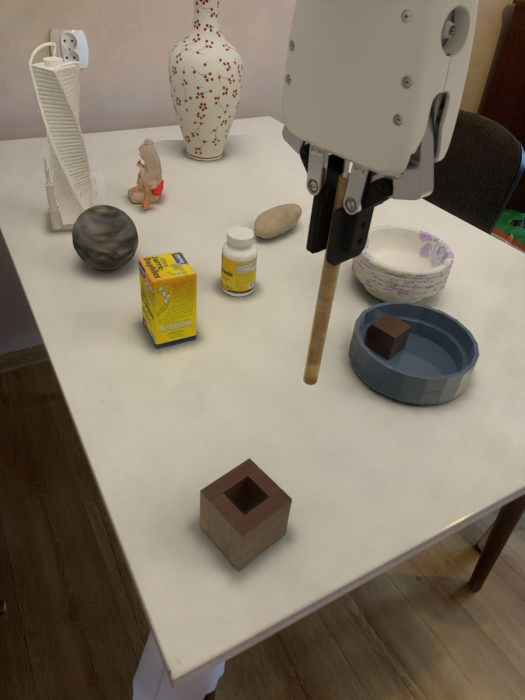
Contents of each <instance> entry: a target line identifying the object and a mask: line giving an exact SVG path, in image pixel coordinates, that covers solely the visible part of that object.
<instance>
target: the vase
mask: <svg viewBox="0 0 525 700" xmlns="http://www.w3.org/2000/svg"><path fill="white" fill-rule="evenodd" d="M220 3H221V0H193V17H192V21H191V26H190V29H189V31H188V33H187V35H185V37H183V38H182V39H181V40H179V41H178V42H177V43H176V44H174V45H172V48H171V49H170V51H169V54H168V65H167V66H168V67H167V71H168V72H167V73H168V81H169V90H170V99H171V103H172V106H173V109H174V112H175V116H176V118H177V122H178V126H179V129H180V131H181V136H182V138H183V142H184V145H185V148H186V155H187V157H189V158H191V159H194V160H197V161H202V162H203V161H204V162H206V161H207V162H208V161H209V162H211V161H216V160H219V159H221V158H222V157H223V154H224V153H223V152H224V148H225V145H226V142H227V139H228V137H229V134H230V131H231V129H232V128H231V127H232V125H233V122H234V119H235V116H236V114H237V111H238V107H239V104H240V101H241V95H242V86H243V77H244V70H243V69H244V68H243V60H242V57H241V55H240V54H239V51H238V49H237V48H236V47H234V46H233V45H232V44H231V43H230V42H229V41H228V40H227V39H226V37H225V36H224V34H223V32H222V27H221V23H220Z"/></svg>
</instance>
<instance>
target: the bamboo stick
mask: <svg viewBox="0 0 525 700" xmlns="http://www.w3.org/2000/svg"><path fill="white" fill-rule="evenodd" d="M349 176H350V172H349V173H341V174H339V177H338V183H337V189H336V194H335V200H334V206H333V211H332V217H331V223H330V228H329V234H328V240H327V246H326V249H325V250H324V251H325V252H324V257H323V263H322V269H321V274H320V280H319V286H318V291H317V298H316V303H315V309H314V315H313V320H312V326H311V330H310V331H311V332H310V338H309V344H308V349H307V354H306V360H305V365H304V370H303V371H304V372H303V377H302V381H303V383H305V385H307V386H314V385H316V384H317V383H318V379H319V373H320V368H321V364H322V357H323V353H324V349H325V344H326V339H327V338H326V337H327V333H328V330H329V329H328V328H329V322H330V319H331V314H332V313H331V312H332V308H333V303H334V297H335V293H336V289H337V283H338V278H339V272H340V268H341V263H340V264H338V265H336V266H332V265H331V264H329V263H327V260H326V253H327V248H328V242H329V237H330V231H331V225H332V220H333V214H334V211H335V210H336V209H338V208H341V207H343V201H344V197H345V193H346V189H347V185H348V180H349Z"/></svg>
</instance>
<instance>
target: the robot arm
mask: <svg viewBox="0 0 525 700" xmlns="http://www.w3.org/2000/svg"><path fill="white" fill-rule="evenodd" d="M479 1H480V0H296V1H295V6H294V11H293V15H292V20H291V26H290V32H289V37H288V43H287V51H286V57H285V65H284V74H283V82H282V93H281V94H282V96H281V116H282V122H283V128H282V132H281V135H282V139H283V140H284V142H285V143H287V144H288V146H289V147H291V149H292V150H293V151H294V152H296V154H297V155H299V158H300V160H301V163H302V165H303V167H304V169H305V172H306V174H307V175H306V190H307V191H308V193H309V195H311V196H313V199H312V204H311V212H310V217H309V218H310V219H309V223H308V232H307V239H306V245H305V249H306V251H308V252H309V253H311V254H313V255H314V254H318V253H321V252H323V251H326V246H327V240H328V234H329V228H330V223H331V217H332V211H333V206H334V200H335V194H336V189H337V183H338V177H339V174H341V173H350V176H349V180H348V185H347V189H346V193H345V197H344V201H343V207H341V208H338V209H336V210H335V211H334V214H333V220H332V225H331V231H330V237H329V242H328V248H327V253H326V260H327V263H329V264H331V265H332V266H336V265H338V264H340V265H341V264H343V263H345V262H347V261H350V260H353V258H354V257H356V256H359V255H360V254H361V253H362V251H363V249H364V248H365V246H366V242H367V237H368V233H369V229H371V224H372V219H373V216H374V210H375V208H376V207H377V206H381V205H382V204H384V203H385V202H387V201H388V200H390V199H392V200H400V201H401V200H402V201H418V200H420V199H423V198H426V197H428V196H430V195H432V194H433V191H434V188H435V164H436V163H439V162H441V161H442V160H443V159H444V158H445V156H446V154H447V152H448V150H449V147H450V144H451V142H452V141H451V140H452V138H453V134H454V132H455V131H454V130H455V127H456V123H457V119H458V117H459V116H458V115H459V112H460V106H461V102H462V98H463V94H464V90H465V86H466V80H467V77H468V72H469V66H470V62H471V56H472V51H473V45H474V39H475V34H476V33H475V32H476V26H477V20H478V19H477V17H478V11H479ZM350 163H352V164H350ZM350 165H351V169H350Z"/></svg>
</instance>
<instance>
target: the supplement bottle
mask: <svg viewBox="0 0 525 700" xmlns="http://www.w3.org/2000/svg"><path fill="white" fill-rule="evenodd" d="M254 241H255V231H254V230H252V229H251V228H249V227H246V226H243V225H242V226H239V225H237V226H232V227H230V228H229V229H228V230H227V232H226V242H225V243H224V244H223V245H222V246H221V247H222V248H221V264H220V265H221V267H220V269H221V270H220V287H221V290H222V291H223V292H224V293H225V294H227V295H229V296H231V297H245V296H248V295H250V294H252V293H253V292H254V291H255V288H256V278H257V277H256V276H257V262H258V247H257V246H256V244H255V243H254Z"/></svg>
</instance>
